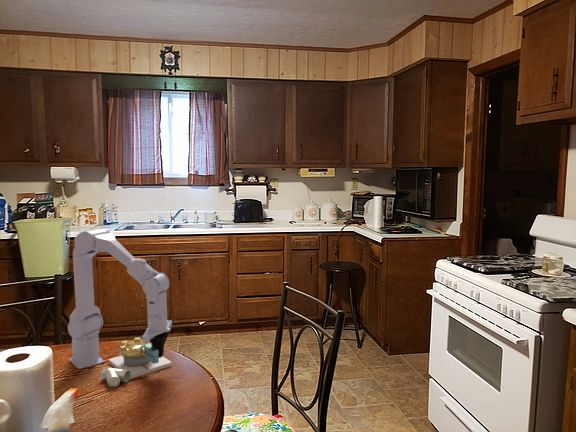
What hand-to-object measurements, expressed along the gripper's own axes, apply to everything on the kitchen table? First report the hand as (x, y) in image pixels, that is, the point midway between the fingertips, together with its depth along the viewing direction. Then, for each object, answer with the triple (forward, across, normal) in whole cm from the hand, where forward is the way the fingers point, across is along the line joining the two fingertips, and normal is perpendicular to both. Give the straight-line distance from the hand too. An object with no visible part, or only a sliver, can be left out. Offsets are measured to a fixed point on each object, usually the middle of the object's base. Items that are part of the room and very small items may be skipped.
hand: (158, 356), depth 140 cm
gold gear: (0, +1, +6) cm, 6 cm away
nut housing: (+5, +3, +9) cm, 11 cm away
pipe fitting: (+5, -9, +10) cm, 15 cm away
